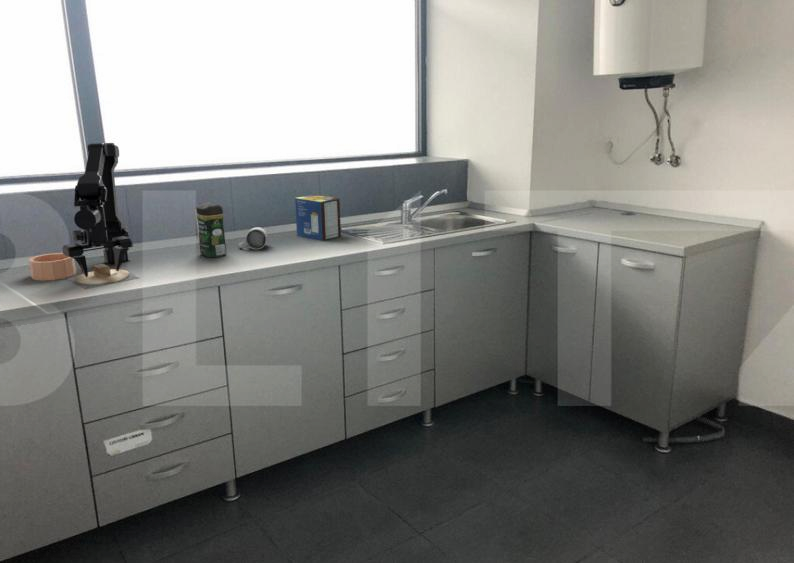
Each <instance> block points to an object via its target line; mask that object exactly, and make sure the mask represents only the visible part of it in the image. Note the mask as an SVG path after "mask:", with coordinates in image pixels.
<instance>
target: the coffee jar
mask: <svg viewBox="0 0 794 563" xmlns="http://www.w3.org/2000/svg"><path fill="white" fill-rule="evenodd" d="M195 207H196V208H195V212H196V214H195V215H196V219H197V227H198V241H199V243H198V244H199V253H200V255H202V256H204V257H207V258H220V257H223V256H225V255H227V245H226V244H227V243H226V236H225V228H224V210H223V209H224V208H223V206H222V205H220V204H215V203H212V202H210V201H207V202H200V203H198V204H197V205H196V206H195Z"/></svg>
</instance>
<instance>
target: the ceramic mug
mask: <svg viewBox="0 0 794 563" xmlns="http://www.w3.org/2000/svg"><path fill="white" fill-rule="evenodd" d="M267 232H268V231H266V229H265V228H262V227H260V226H259V227H258V226H256V227H253V228H251V229H250V230H249V231H248V232H247V233H246V235H245V240H243V241H242V242H240V243H239V244H238V247H239V249H243V248H246V247H248V248H250V249H251V250H255V251H259V250H262V249H263V248H264V247H265V246H266V245H267V242H268V240H269V238H268V236H269V235H268V233H267Z"/></svg>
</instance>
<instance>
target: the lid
mask: <svg viewBox="0 0 794 563" xmlns="http://www.w3.org/2000/svg"><path fill="white" fill-rule="evenodd" d="M129 273H130V272H129V271H128V270H125V269H120V268H119V271H116V268H115V269H114V268H113V269H112V268H111V269H110V266H109V265H108V264H107V265H106V264H104V263H100V264H94V265H92V271H89V272H88V277H86V276H85V275H84V273H81V274H79V275H76V276H77V277H76V276H75V277H76V278H75V281H76V283H78V284H82V285H101V284H108V285H110V284H109V283H113V284H115V283H114V282H118V281H122V280H124V279H126V278H128V277H129ZM118 283H119V282H118Z"/></svg>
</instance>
